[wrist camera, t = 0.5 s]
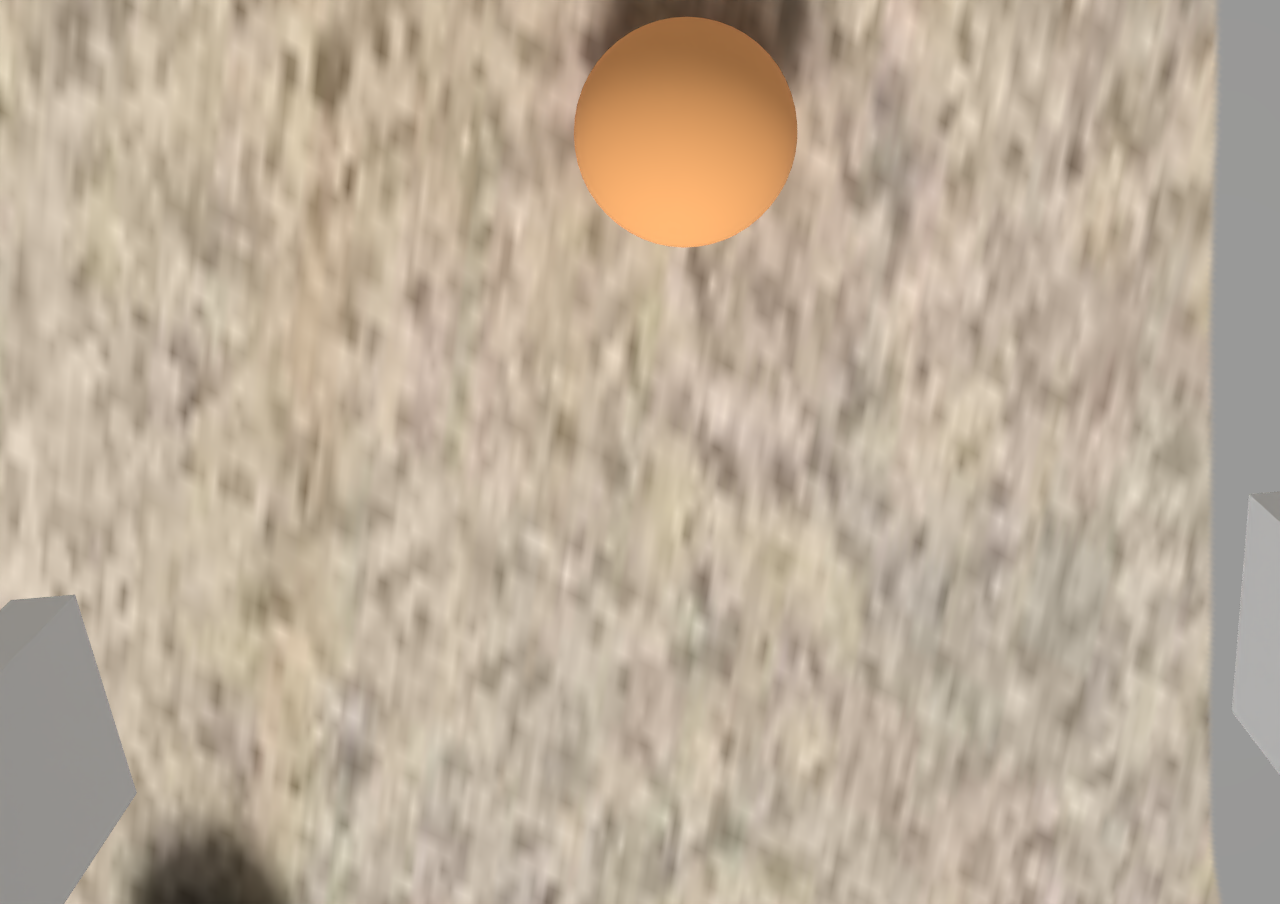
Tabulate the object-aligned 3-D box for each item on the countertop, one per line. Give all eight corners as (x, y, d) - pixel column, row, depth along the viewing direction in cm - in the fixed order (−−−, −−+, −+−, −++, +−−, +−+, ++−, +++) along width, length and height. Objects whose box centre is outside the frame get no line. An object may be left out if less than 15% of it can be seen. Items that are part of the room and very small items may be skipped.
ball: (568, 23, 35) (549, 40, 29) (779, -3, 34) (800, 10, 29) (595, 230, 37) (582, 283, 32) (793, 209, 37) (815, 258, 31)
